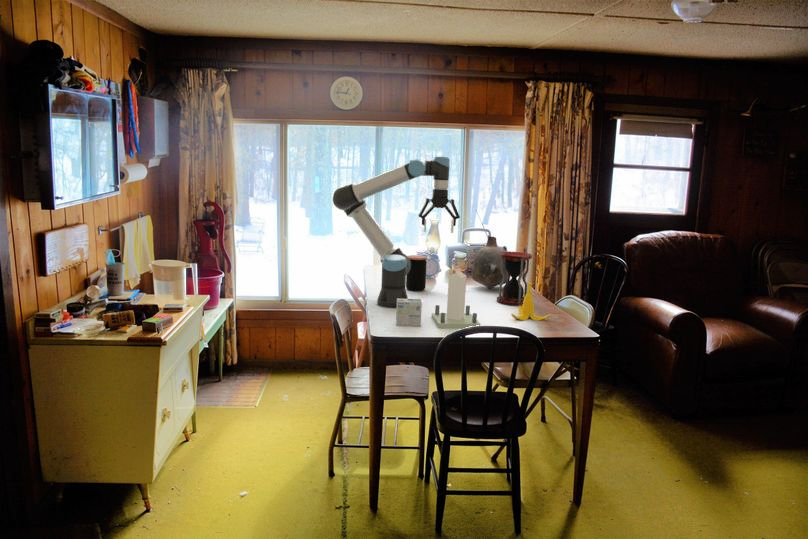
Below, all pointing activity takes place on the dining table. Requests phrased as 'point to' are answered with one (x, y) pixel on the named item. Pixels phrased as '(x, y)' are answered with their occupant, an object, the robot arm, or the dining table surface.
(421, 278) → the coffee jar
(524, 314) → the banana peel
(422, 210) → the robot arm
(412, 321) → the light bulb box
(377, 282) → the dining table surface
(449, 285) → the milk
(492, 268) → the jug
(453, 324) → the peg board
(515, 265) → the hourglass
